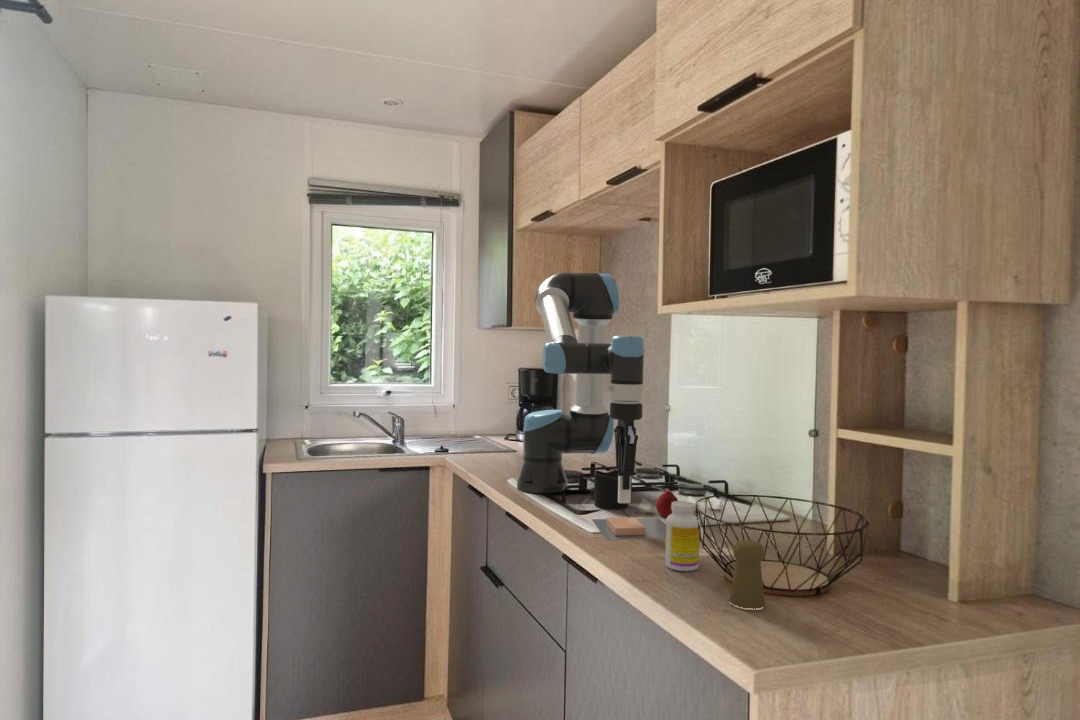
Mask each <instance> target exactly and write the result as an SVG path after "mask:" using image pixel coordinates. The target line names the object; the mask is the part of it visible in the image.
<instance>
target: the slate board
mask: <svg viewBox="0 0 1080 720" xmlns="http://www.w3.org/2000/svg"><path fill="white" fill-rule="evenodd" d="M606 519H607V518H598V519H597V518H593V519H592V518H591V521H592V522H593V524H594V525H595V526H596V528H597V529H598V530H599V532H600V534H602V536H603V537H604V538H605V540H606V541H607V540H609V541H611V540H613V541H615V540H616V541H617V540H622V541H623V540H659V539H660V540H662V539H663V540H664V539H665V540H666V522H664V521H663V520H662V519H660V518H659V517H658V518H657V517H656V518H653V517H651V518H636V519H637V520H638V521H639V522H640V523H641V524H642V525H643V526H644V527H645V528H646V530H645V535H627V536H616V535H614V533H613V532H612V531H611V530H610V528H609V527H608V526H607V525H606Z"/></svg>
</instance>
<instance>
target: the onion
mask: <svg viewBox="0 0 1080 720" xmlns="http://www.w3.org/2000/svg"><path fill="white" fill-rule="evenodd" d="M674 501H679V499H678V497H677V496H676V495H675V494H674V493H673V492H671V491H670V488H665V490H664V492H662V494H661V495H659V497H657V499H656V503H655V506H656V507H655V508H656V511H657V513H658V514H659V515H660V516H662V517H663V518H667V517H668V516H669V515H670V514H672V509H671V503H672V502H674Z"/></svg>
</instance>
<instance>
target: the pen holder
mask: <svg viewBox="0 0 1080 720" xmlns="http://www.w3.org/2000/svg"><path fill="white" fill-rule="evenodd" d="M617 473H618V469H615V470H611V471H608V472H603V471H600V470H595V471H593V480H594V481H593V486H594V487H593V489H594V495H593V496H594V497H593V498H594V506H595V508H598V509H602V510H607V511H609V510H611V511H613V510H614V511H617V510H618V511H619V510H626V509H627V508H628V505H629V503H618V475H617Z"/></svg>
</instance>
